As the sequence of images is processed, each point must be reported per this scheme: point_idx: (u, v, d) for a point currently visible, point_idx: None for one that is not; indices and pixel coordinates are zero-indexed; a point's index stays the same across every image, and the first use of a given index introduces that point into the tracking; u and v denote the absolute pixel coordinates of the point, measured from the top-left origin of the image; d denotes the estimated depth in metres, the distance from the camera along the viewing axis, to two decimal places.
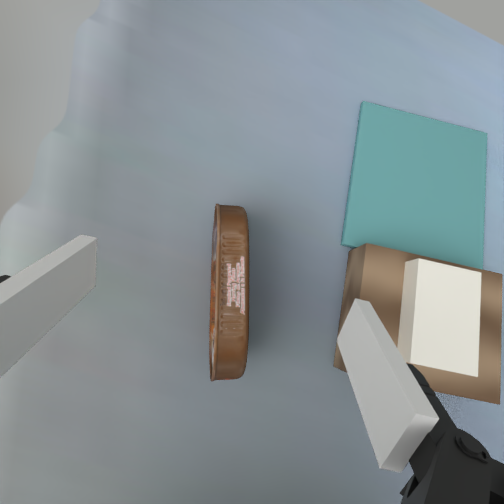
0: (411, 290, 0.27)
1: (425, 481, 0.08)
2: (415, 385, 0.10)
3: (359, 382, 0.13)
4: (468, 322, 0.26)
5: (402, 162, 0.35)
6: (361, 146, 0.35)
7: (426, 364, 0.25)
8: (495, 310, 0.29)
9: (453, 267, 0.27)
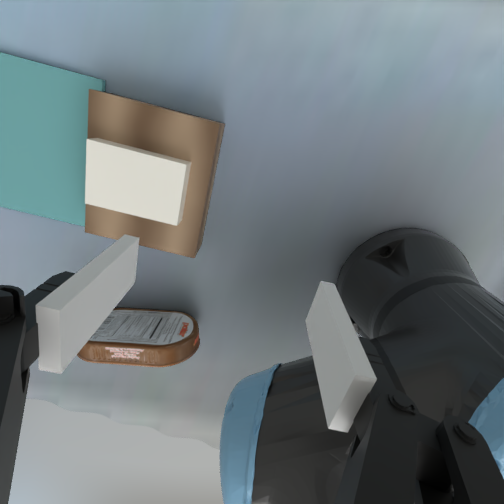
0: None
1: (365, 440, 0.08)
2: (361, 352, 0.11)
3: (318, 355, 0.14)
4: (137, 164, 0.27)
5: None
6: None
7: (177, 211, 0.29)
8: (129, 107, 0.27)
9: (87, 169, 0.28)
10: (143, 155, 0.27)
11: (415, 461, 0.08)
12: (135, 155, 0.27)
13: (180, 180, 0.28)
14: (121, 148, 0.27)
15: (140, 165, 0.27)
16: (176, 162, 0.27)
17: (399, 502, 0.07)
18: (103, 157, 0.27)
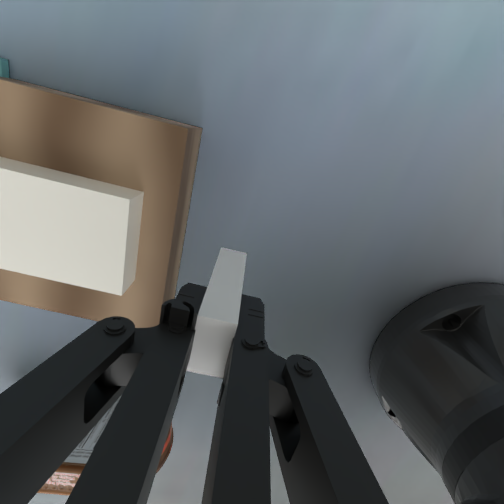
0: None
1: (225, 388, 0.09)
2: (236, 304, 0.12)
3: None
4: (46, 198, 0.16)
5: None
6: None
7: (120, 274, 0.17)
8: (31, 101, 0.16)
9: None
10: (54, 184, 0.15)
11: (267, 388, 0.09)
12: (40, 184, 0.15)
13: (121, 225, 0.16)
14: (15, 172, 0.15)
15: (51, 201, 0.16)
16: (112, 195, 0.16)
17: (257, 431, 0.07)
18: None
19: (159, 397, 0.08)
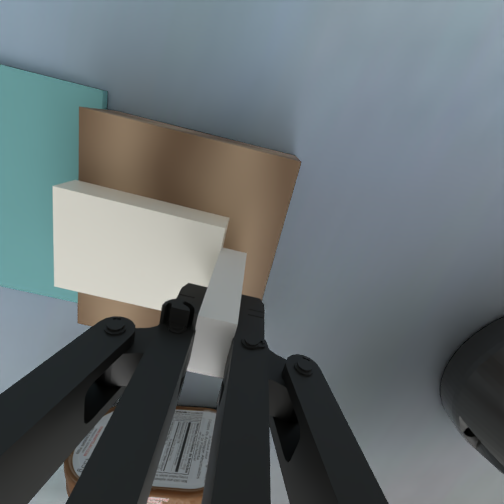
0: None
1: (225, 388, 0.09)
2: (236, 304, 0.12)
3: None
4: (141, 226, 0.16)
5: None
6: None
7: None
8: (148, 136, 0.16)
9: (55, 235, 0.16)
10: (151, 213, 0.16)
11: (267, 388, 0.09)
12: (137, 213, 0.16)
13: (213, 253, 0.16)
14: (113, 201, 0.15)
15: (146, 229, 0.16)
16: (207, 224, 0.16)
17: (257, 431, 0.07)
18: (82, 216, 0.16)
19: (159, 397, 0.08)
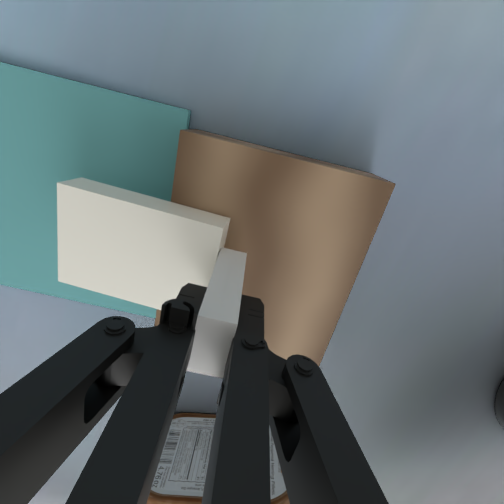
0: None
1: (225, 388, 0.09)
2: (236, 304, 0.12)
3: None
4: (140, 224, 0.16)
5: (17, 224, 0.22)
6: (12, 281, 0.24)
7: None
8: (245, 159, 0.16)
9: (59, 230, 0.17)
10: (150, 211, 0.16)
11: (267, 388, 0.09)
12: (136, 210, 0.16)
13: (211, 253, 0.16)
14: (113, 198, 0.16)
15: (145, 227, 0.16)
16: (206, 223, 0.16)
17: (257, 431, 0.07)
18: (84, 212, 0.16)
19: (159, 397, 0.08)
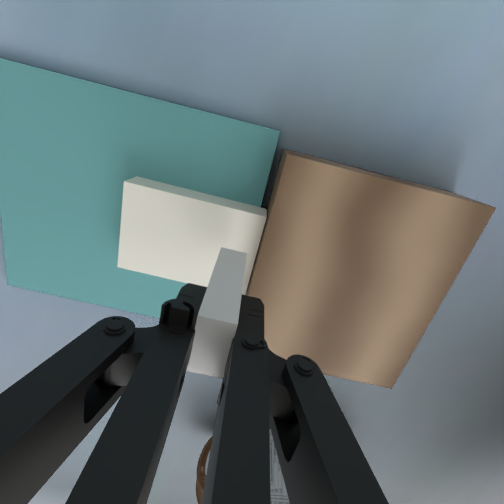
0: None
1: (225, 388, 0.09)
2: (236, 304, 0.12)
3: None
4: (196, 215, 0.19)
5: (94, 240, 0.22)
6: (83, 295, 0.24)
7: (247, 278, 0.21)
8: (349, 183, 0.16)
9: (122, 222, 0.19)
10: (205, 204, 0.19)
11: (267, 388, 0.09)
12: (193, 204, 0.19)
13: (255, 238, 0.19)
14: (173, 194, 0.19)
15: (199, 217, 0.19)
16: (252, 213, 0.19)
17: (257, 431, 0.07)
18: (147, 206, 0.19)
19: (159, 396, 0.08)
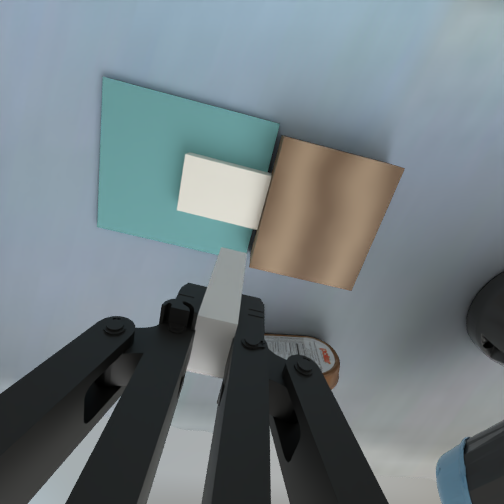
0: None
1: (225, 388, 0.09)
2: (236, 304, 0.12)
3: None
4: (228, 175, 0.31)
5: (159, 195, 0.34)
6: (148, 234, 0.36)
7: (259, 217, 0.33)
8: (320, 153, 0.28)
9: (182, 180, 0.31)
10: (234, 168, 0.31)
11: (267, 388, 0.09)
12: (227, 168, 0.31)
13: (264, 190, 0.31)
14: (215, 162, 0.30)
15: (230, 177, 0.31)
16: (262, 174, 0.31)
17: (257, 431, 0.07)
18: (198, 170, 0.31)
19: (159, 397, 0.08)
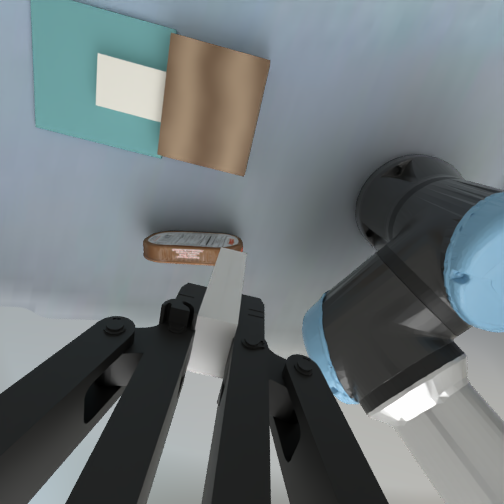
0: None
1: (226, 388, 0.09)
2: (236, 304, 0.12)
3: None
4: (134, 72, 0.38)
5: (84, 96, 0.41)
6: (78, 133, 0.43)
7: None
8: (201, 47, 0.35)
9: (97, 77, 0.38)
10: (138, 65, 0.38)
11: (267, 388, 0.09)
12: (132, 65, 0.38)
13: None
14: (122, 60, 0.37)
15: (136, 73, 0.38)
16: (162, 71, 0.38)
17: (257, 431, 0.07)
18: (109, 67, 0.38)
19: (159, 397, 0.08)
